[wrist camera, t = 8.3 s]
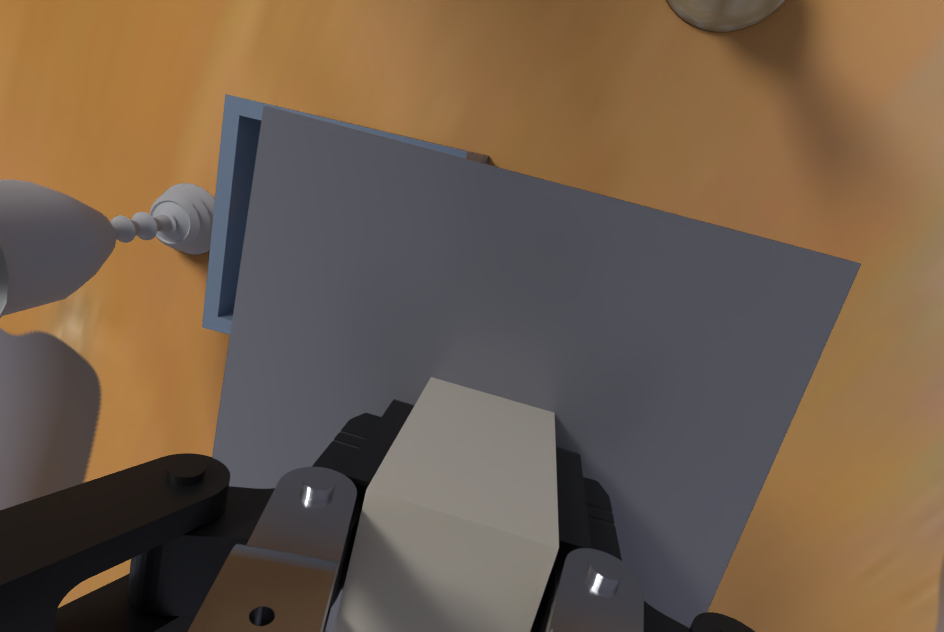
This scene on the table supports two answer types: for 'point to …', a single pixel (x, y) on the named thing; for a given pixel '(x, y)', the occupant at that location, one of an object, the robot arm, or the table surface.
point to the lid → (509, 369)
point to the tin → (235, 198)
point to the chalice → (83, 238)
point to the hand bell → (724, 12)
